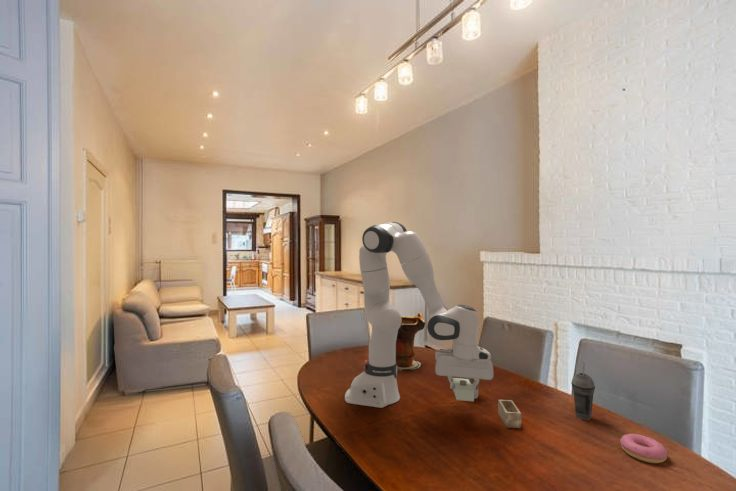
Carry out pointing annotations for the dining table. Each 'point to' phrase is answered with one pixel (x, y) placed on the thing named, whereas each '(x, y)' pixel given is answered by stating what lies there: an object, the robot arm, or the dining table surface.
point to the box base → (509, 413)
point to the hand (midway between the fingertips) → (462, 389)
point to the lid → (463, 389)
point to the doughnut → (643, 448)
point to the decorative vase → (408, 342)
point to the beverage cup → (583, 395)
